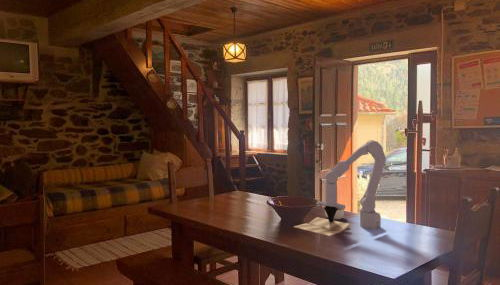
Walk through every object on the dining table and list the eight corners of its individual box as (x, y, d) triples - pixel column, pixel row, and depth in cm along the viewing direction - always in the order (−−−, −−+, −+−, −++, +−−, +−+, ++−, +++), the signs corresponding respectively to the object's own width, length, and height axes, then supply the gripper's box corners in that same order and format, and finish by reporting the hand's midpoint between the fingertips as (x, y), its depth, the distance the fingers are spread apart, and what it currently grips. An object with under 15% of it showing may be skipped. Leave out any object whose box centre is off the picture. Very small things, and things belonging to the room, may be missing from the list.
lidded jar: (321, 220, 212) (321, 203, 212) (327, 216, 222) (327, 200, 221) (341, 223, 207) (341, 205, 207) (346, 218, 217) (346, 201, 216)
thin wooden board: (342, 234, 187) (342, 231, 187) (329, 238, 180) (329, 235, 180) (306, 225, 203) (306, 223, 203) (293, 229, 196) (293, 226, 196)
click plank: (350, 226, 193) (349, 223, 193) (340, 233, 188) (340, 231, 188) (317, 218, 208) (317, 217, 207) (308, 225, 202) (307, 223, 202)
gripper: (348, 195, 197) (347, 222, 198) (322, 192, 206) (322, 217, 207) (341, 197, 191) (341, 224, 192) (315, 194, 201) (315, 220, 201)
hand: (331, 221), depth 199 cm, fingers closed, pressing on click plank
